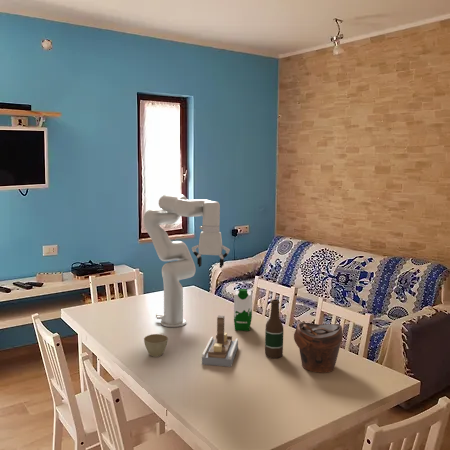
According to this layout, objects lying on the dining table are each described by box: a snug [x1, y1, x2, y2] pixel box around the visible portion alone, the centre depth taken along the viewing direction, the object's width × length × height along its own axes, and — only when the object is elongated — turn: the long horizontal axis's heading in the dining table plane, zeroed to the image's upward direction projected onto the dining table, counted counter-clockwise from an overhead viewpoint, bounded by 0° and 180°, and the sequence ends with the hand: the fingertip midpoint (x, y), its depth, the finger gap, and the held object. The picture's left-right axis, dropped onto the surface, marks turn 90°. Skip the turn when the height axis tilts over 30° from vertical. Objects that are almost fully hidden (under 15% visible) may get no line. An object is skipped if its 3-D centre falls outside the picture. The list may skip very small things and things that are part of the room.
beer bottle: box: [264, 299, 284, 359], centre depth 204 cm, size 8×8×24 cm
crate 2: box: [224, 332, 228, 342], centre depth 210 cm, size 3×3×3 cm
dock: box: [201, 336, 239, 368], centre depth 204 cm, size 12×20×4 cm, turn 171°
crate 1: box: [214, 343, 222, 352], centre depth 197 cm, size 3×3×3 cm
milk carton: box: [233, 288, 253, 332], centre depth 236 cm, size 9×9×20 cm
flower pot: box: [143, 333, 169, 358], centre depth 204 cm, size 10×10×7 cm
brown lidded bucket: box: [293, 322, 344, 374], centre depth 194 cm, size 18×20×18 cm
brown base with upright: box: [208, 315, 233, 358], centre depth 203 cm, size 19×7×14 cm, turn 171°
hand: (210, 266), depth 217 cm, fingers open, 9 cm apart
